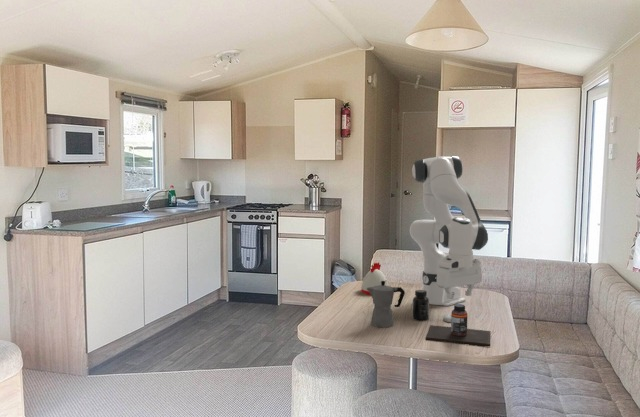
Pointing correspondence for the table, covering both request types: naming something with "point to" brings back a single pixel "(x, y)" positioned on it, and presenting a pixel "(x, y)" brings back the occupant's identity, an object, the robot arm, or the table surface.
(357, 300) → the table surface
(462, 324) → the supplement bottle
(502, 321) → the table surface
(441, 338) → the hardcover book
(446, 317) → the white glossy disc
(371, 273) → the kitchen timer
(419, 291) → the supplement bottle
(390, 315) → the coffeepot
